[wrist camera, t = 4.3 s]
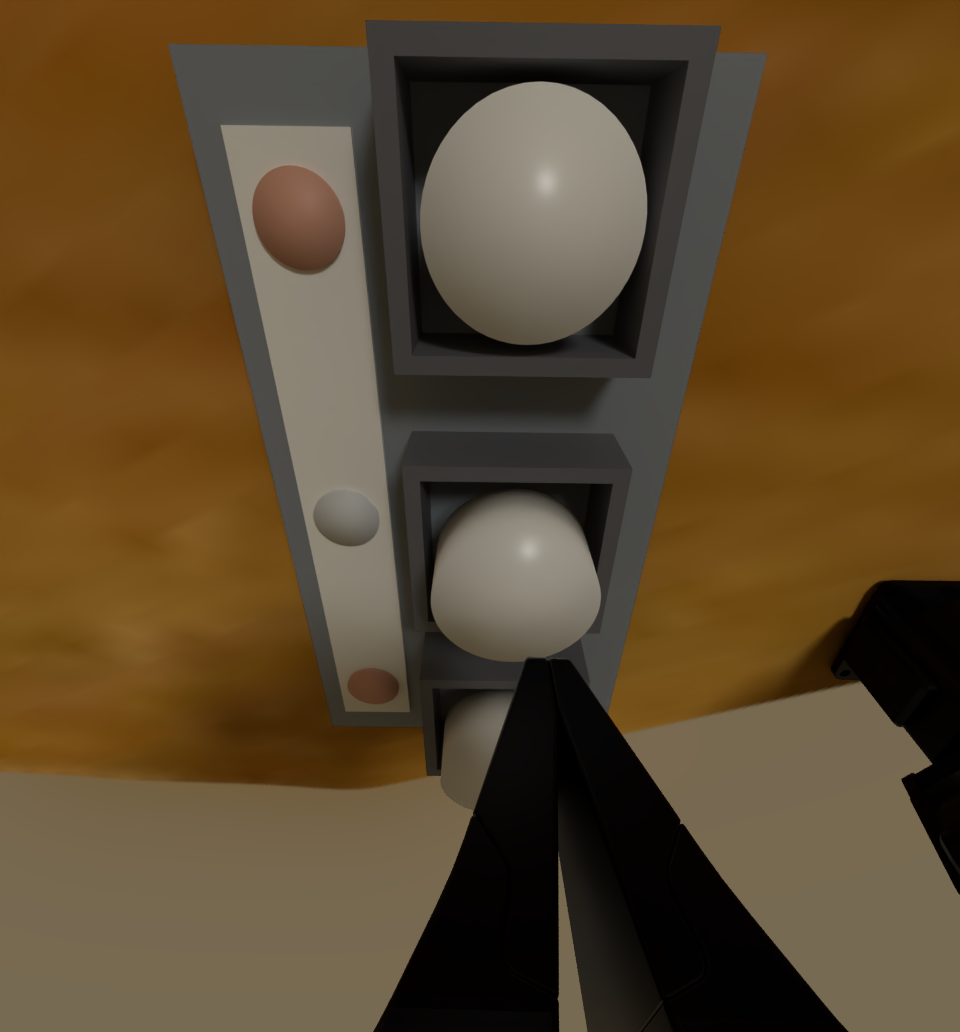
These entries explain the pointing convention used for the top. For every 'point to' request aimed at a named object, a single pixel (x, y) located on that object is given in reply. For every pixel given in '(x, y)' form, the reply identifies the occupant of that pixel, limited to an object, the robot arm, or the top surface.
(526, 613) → the button mid
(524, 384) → the button board
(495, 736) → the button end
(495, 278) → the button
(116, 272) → the top surface
